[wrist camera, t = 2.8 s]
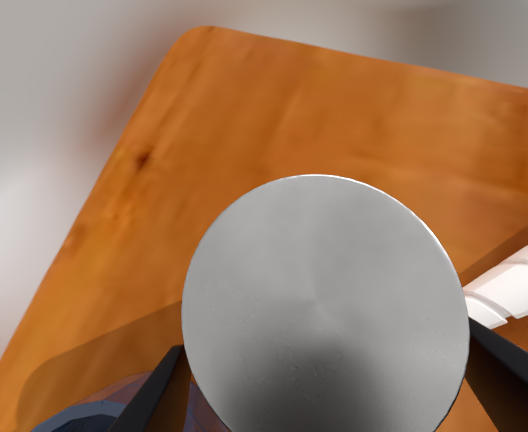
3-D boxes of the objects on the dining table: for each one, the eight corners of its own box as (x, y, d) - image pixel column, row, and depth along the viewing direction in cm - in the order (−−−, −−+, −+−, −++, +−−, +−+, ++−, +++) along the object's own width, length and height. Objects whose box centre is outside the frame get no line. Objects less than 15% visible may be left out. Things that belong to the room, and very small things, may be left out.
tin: (352, 331, 17) (537, 450, 4) (264, 348, 17) (194, 510, 4) (327, 244, 18) (407, 147, 6) (249, 261, 19) (167, 200, 6)
